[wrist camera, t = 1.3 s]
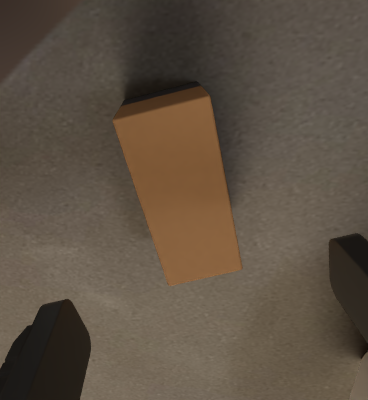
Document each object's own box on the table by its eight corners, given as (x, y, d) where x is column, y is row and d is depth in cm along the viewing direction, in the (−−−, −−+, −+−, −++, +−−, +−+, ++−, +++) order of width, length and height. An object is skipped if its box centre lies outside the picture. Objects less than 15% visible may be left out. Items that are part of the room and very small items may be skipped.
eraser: (167, 238, 20) (168, 287, 16) (123, 100, 16) (111, 119, 12) (226, 224, 20) (243, 270, 16) (197, 81, 16) (210, 94, 12)
